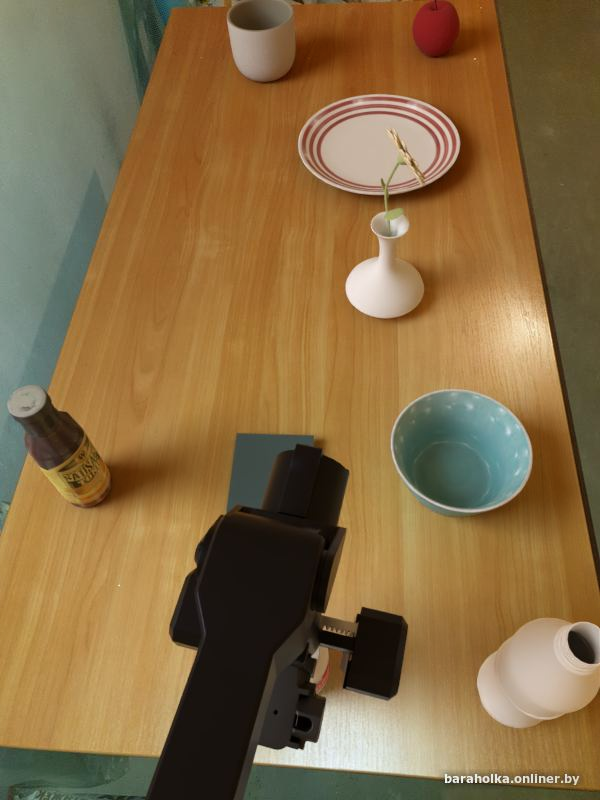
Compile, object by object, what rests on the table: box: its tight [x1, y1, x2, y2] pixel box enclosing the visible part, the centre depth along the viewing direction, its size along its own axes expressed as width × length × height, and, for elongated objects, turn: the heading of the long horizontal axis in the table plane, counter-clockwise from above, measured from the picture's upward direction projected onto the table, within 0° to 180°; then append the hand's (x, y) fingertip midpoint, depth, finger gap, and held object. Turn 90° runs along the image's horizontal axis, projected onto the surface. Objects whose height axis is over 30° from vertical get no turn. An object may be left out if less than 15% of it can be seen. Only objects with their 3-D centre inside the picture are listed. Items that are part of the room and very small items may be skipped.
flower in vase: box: [345, 127, 426, 320], centre depth 84 cm, size 13×11×25 cm
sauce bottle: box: [6, 384, 112, 509], centre depth 72 cm, size 6×6×20 cm
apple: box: [411, 0, 461, 57], centre depth 122 cm, size 9×9×10 cm
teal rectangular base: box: [225, 432, 315, 514], centre depth 77 cm, size 17×10×3 cm, turn 176°
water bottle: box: [476, 617, 600, 729], centre depth 55 cm, size 7×7×25 cm
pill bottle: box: [310, 646, 330, 694], centre depth 63 cm, size 6×6×11 cm
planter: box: [226, 0, 297, 83], centre depth 121 cm, size 12×12×11 cm
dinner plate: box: [297, 93, 461, 196], centre depth 109 cm, size 27×27×3 cm
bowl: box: [389, 388, 534, 518], centre depth 75 cm, size 16×16×8 cm
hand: (294, 650), depth 59 cm, fingers open, 9 cm apart
